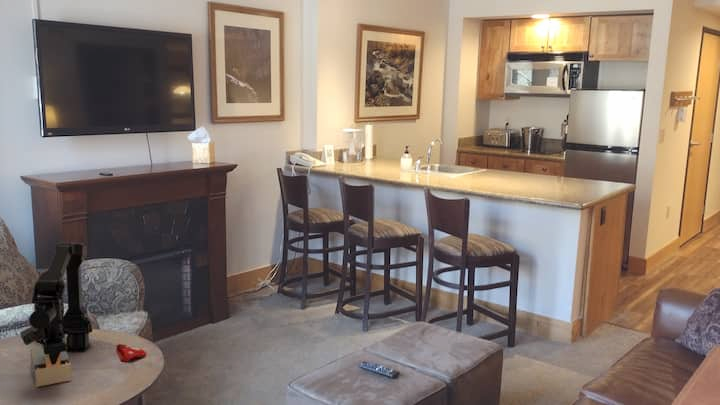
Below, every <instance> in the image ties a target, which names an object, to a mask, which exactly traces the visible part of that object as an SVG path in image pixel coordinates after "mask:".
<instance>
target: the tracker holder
mask: <svg viewBox="0 0 720 405" xmlns="http://www.w3.org/2000/svg"><path fill="white" fill-rule="evenodd" d="M127 345H128V344H127V343H126V344H125V343H122V342H120V343H119V342H118V343H117V344H116V345H115V347H116V353H117V355H118V357H119V359H120V361H122V362H126V363H128V362H129V361H130V360H131V359H134V358H144V357H146V356H147V351H145V350H144V349H142V348H140V347H137V346H127Z"/></svg>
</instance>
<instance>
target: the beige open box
mask: <svg viewBox="0 0 720 405" xmlns="http://www.w3.org/2000/svg"><path fill="white" fill-rule="evenodd" d="M35 373H36V382H35V386H36V387H35V388H39V387H43V386H48V385H53V384H57V383H64V382H68V381H69V382H70V381H72V363H71V362H69V363H68V364H67V362H66V361H60V355H59V357H58V359H57V362H56V364H54V365H52V364H51V361H50V357H49V355H46V364H43V365H38V366H36V369H35Z"/></svg>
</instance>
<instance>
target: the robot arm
mask: <svg viewBox="0 0 720 405" xmlns="http://www.w3.org/2000/svg"><path fill="white" fill-rule="evenodd" d="M87 253H88V251H87V245H84V243H82V242H59V243H56V246H55V253H54V255H53V257H52V259H51V262H50V264H49V266H48V268H47V270H46V271H44V272H43V273H41V274H40V275H39V277H38V279H37V280H36V281H35V283H34V288H33V292H32V293H33V294H32V300H31V304H34V303H37V306H36V310H35V311H34V310H33V312H31V314H30V315H29V318H28V322H29V324H30V326H31V327H27V328H26V329H24V330H22V331H20V333H19V334H20V338H21V340H22V341H23V344H25V346H28V345H31V344H32V343H34V342H36V340H38V339H40V338H41V344H42V345H41V344H40V345H41V347H42V348H43V352H44V354H46V355H47V354H49V357H50V361H51V364H52V365H54V364H56V362H57V359H58V357H59V355H60V353H61V352H65V351H66V352H75V351H79V352H80V351H82V353H83V352H84V353H85V351H87V350H88V349H89V348H90V346H91V345H92V344H91V343H90V340H89V339H90V338H89V336H90V335H89V334H91V333H92V332H93V323H92V321H91V319H90V317H89V312H88V310H87V308H85V306H84V305H83V291H82V290H83V289H82V271H81V270H82V269H81V268H82V267H81V266H82V265H83V263H84V262H85V260H86V256H87ZM65 274H66V284H65V281H64V275H65ZM65 291H67V292H65ZM65 293H67V294H66V295H67V310H66V312H64V315H63V320H62V318H61V299H63V300H64V296H65ZM62 328H63V332H62ZM63 333H64V336H65V339H64V340H63V339H62V336H63ZM79 352H78V353H79ZM80 353H81V352H80Z"/></svg>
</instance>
